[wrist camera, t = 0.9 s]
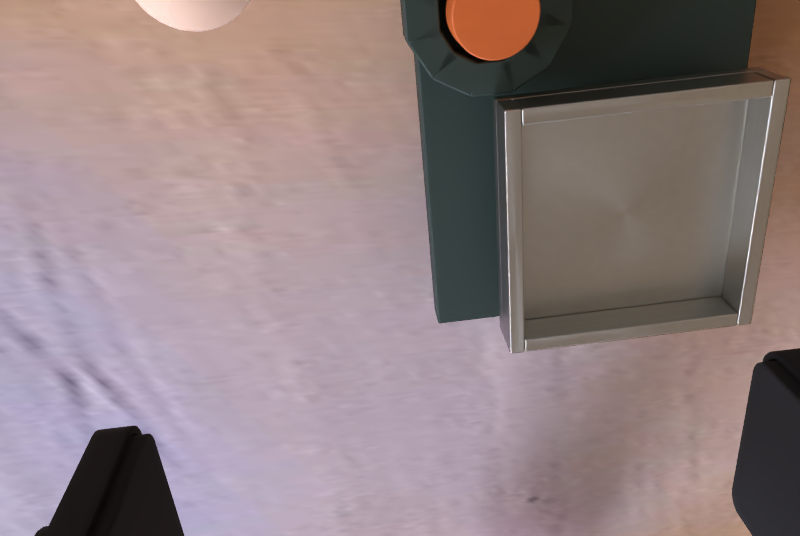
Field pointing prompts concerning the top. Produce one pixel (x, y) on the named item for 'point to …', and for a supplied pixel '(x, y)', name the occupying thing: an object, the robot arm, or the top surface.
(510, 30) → the button
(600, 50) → the scale
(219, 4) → the egg
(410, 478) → the top surface
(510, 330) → the pan
